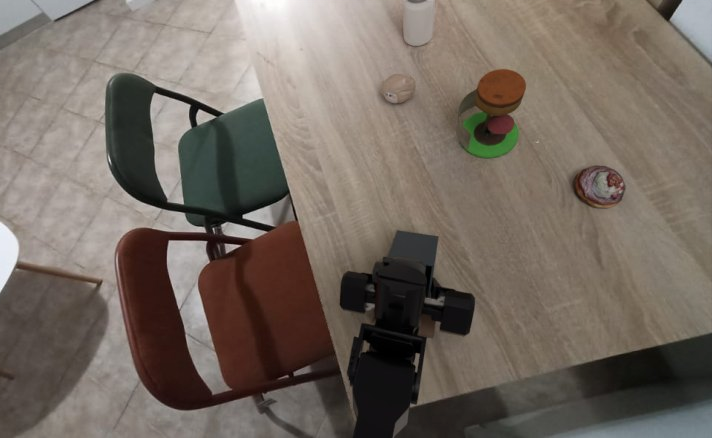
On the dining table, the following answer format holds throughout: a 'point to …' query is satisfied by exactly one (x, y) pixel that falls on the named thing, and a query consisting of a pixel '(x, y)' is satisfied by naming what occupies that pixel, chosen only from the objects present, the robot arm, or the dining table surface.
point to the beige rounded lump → (398, 88)
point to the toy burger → (491, 114)
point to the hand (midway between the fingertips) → (409, 275)
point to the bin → (416, 251)
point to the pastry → (599, 186)
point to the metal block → (425, 326)
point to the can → (418, 21)
